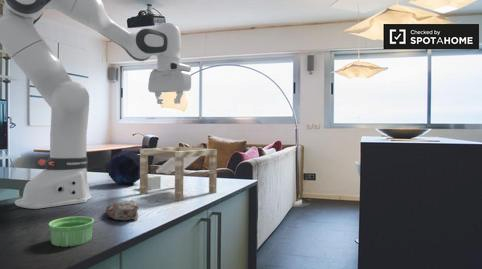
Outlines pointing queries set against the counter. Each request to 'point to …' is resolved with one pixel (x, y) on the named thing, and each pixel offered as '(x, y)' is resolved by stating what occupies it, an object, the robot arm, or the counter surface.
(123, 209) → the mineral rock
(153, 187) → the stone block
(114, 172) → the decorative orb
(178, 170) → the wooden stool
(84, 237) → the ramekin
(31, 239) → the counter surface
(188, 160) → the trapdoor
